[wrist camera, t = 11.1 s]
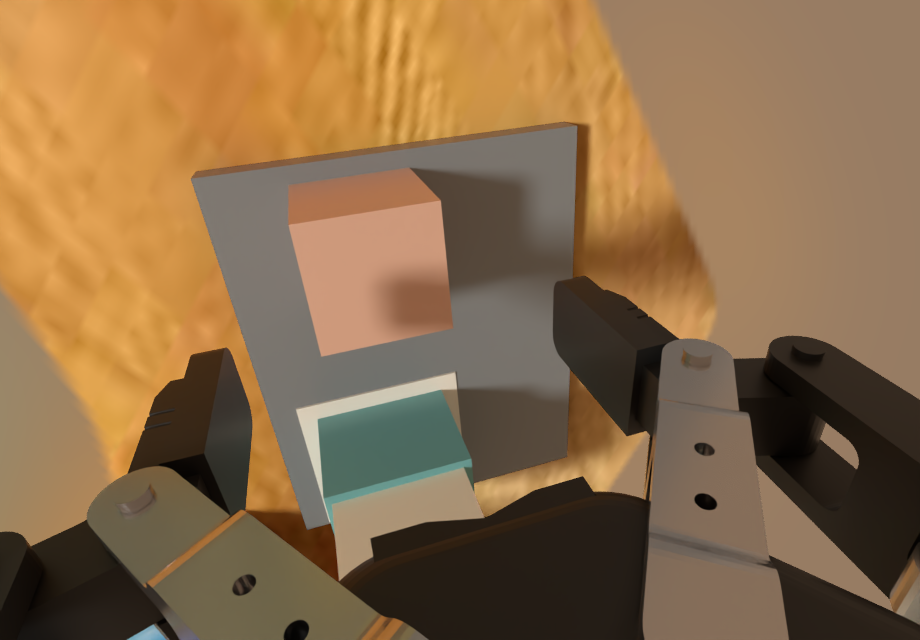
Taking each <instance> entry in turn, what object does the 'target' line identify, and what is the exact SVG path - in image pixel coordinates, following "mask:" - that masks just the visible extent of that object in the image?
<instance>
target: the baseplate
mask: <svg viewBox="0 0 920 640" xmlns="http://www.w3.org/2000/svg"><path fill="white" fill-rule="evenodd" d="M576 153H577V125H573V124H570V123H566V122H560V123H552V124H545V125H537V126H530V127H523V128H515V129H508V130H500V131H493V132H486V133H478V134H471V135H463V136H456V137H449V138H441V139H434V140H426V141H419V142H412V143H404V144H397V145H389V146H382V147H375V148H367V149H360V150H352V151H345V152H338V153H330V154H323V155H315V156H308V157H301V158H293V159H286V160H278V161H271V162H264V163H256V164H249V165H242V166H234V167H227V168H219V169H212V170H205V171H197V172H195V174H194V175H193V176H192V178H191V181H192V184H193V187H194V190H195V193H196V196H197V199H198V202H199V205H200V208H201V211H202V214H203V217H204V220H205V223H206V226H207V229H208V232H209V235H210V238H211V241H212V244H213V247H214V250H215V253H216V256H217V259H218V262H219V265H220V268H221V271H222V274H223V277H224V281H225V284H226V287H227V290H228V293H229V296H230V299H231V302H232V305H233V308H234V311H235V314H236V317H237V320H238V323H239V326H240V329H241V332H242V335H243V338H244V341H245V344H246V347H247V350H248V353H249V356H250V359H251V362H252V365H253V368H254V371H255V374H256V377H257V380H258V383H259V386H260V389H261V392H262V395H263V398H264V401H265V404H266V407H267V410H268V413H269V416H270V420H271V423H272V426H273V429H274V432H275V435H276V438H277V441H278V444H279V447H280V450H281V453H282V456H283V459H284V462H285V465H286V468H287V471H288V474H289V477H290V480H291V483H292V486H293V489H294V492H295V495H296V498H297V501H298V504H299V507H300V510H301V513H302V516H303V519H304V522H305V525H306V528H307V530H309V529H312V528H316V527H320V526H323V525H327V524H330V523H331V522H330V519H329V516H328V512H327V509H326V505H325V502H324V499H323V486H322V472H321V459H320V446H319V433H318V420H317V419H320V418H324V417H328V416H333V415H337V414H341V413H345V412H349V411H354V410H358V409H362V408H366V407H370V406H375V405H379V404H383V403H387V402H391V401H395V400H400V399H404V398H408V397H412V396H416V395H421V394H425V393H429V392H433V391H437V390H442V393H443V395H444V397H445V400H446V402H447V404H448V406H449V409H450V411H451V413H452V416H453V418H454V420H455V422H456V425H457V427H458V429H459V431H460V434H461V436H462V438H463V441H464V443H465V445H466V447H467V450H468V452H469V454H470V457H471V460H472V471H473V482H474V483H476V482H480V481H483V480H487V479H490V478H494V477H497V476H501V475H504V474H508V473H512V472H515V471H519V470H522V469H526V468H529V467H533V466H536V465H540V464H544V463H547V462H551V461H554V460H558V459H561V458H565V457H567V444H568V412H569V380H570V368H569V367H568V366H567V365H566V363H565V362H564V361H563V360H562V359H561V357H560V356H559V355H558V353H557V351H556V348H555V345H554V341H553V291H554V286H555V283H556V282H557V281H561V280H566V279H571V278H573V250H574V218H575V185H576ZM402 168H410V169H411V170H412V171H413V172H414V173H415V174H416V175H417V176H418V177H419V178H420V179H421V180H422V181H423V183H424V184H425V185H426V186H427V187H428V188H429V189H430V190H431V191H432V192H433V193H434V194H435V195H436V196H437V197H438V198H439V199H440V200H441V208H442V218H443V228H444V239H445V249H446V259H447V269H448V279H449V290H450V300H451V310H452V320H453V329H448V330H443V331H439V332H434V333H429V334H425V335H420V336H415V337H411V338H406V339H402V340H397V341H392V342H388V343H383V344H378V345H374V346H369V347H364V348H360V349H355V350H350V351H346V352H341V353H336V354H332V355H327V356H322V357H321V353H320V349H319V345H318V341H317V337H316V333H315V329H314V325H313V321H312V317H311V313H310V309H309V305H308V301H307V297H306V293H305V289H304V285H303V281H302V277H301V273H300V269H299V265H298V261H297V257H296V253H295V249H294V245H293V241H292V237H291V233H290V229H289V225H288V185H292V184H299V183H306V182H313V181H320V180H327V179H334V178H340V177H347V176H354V175H361V174H368V173H375V172H382V171H389V170H396V169H402Z"/></svg>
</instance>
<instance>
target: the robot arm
mask: <svg viewBox="0 0 920 640" xmlns="http://www.w3.org/2000/svg"><path fill="white" fill-rule="evenodd" d="M553 341H554V345H555V348H556V351H557V353H558V355H559V356H560V357H561V359H562V360H563V361H564V362H565V363H566V365H567V366H568V367H569V368H570V369H571V371H572V372H573V373H574V374H575V375H576V376H577V378H578V379H579V380H580V381H581V382H582V384H583V385H584V386H585V387H586V388H587V389H588V391H589V392H590V393H591V394H592V395H593V397H594V398H595V399H596V400H597V401H598V403H599V404H600V405H601V406H602V407H603V408H604V410H605V411H606V412H607V413H608V414H609V416H610V417H611V418H612V419H613V420H614V422H615V423H616V424H617V425H618V426H619V427H620V429H621V430H622V431H623V432H624V433H625V435H626V436H630V435H633V434H637V433H640V432H644V431H647V432H648V433H649V435H650V438H649V445H648V454H647V463H646V473H645V483H644V494H643V499H642V498H639V497H635V496H631V495H627V494H622V493H614V492H593V491H592V489H591V488H590V486H589V485H588V483H587V482H586V480H585V479H584V477H583V476H582V477H579V478H576V479H572V480H569V481H565V482H562V483H558V484H555V485H552V486H548V487H545V488H541V489H538V490H534V491H533V492H531V493H529V494H527V495H526V496H524V497H522V498H520V499H518V500H517V501H515V502H513V503H511V504H510V505H508V506H506V507H504V508H503V509H501V510H499V511H497V512H496V513H494V514H492V515H490V516H488V517H485V518H477V519H463V520H448V521H433V522H424V523H421V524H417V525H414V526H411V527H407V528H404V529H400V530H397V531H393V532H390V533H387V534H383V535H380V536H376V537H373V538H370V540H371V546H372V552H373V557H371V558H370V559H368V560H366V561H364V562H363V563H361V564H360V565H359V566H357V567H356V568H354V569H353V570H351V571H350V572H349V573H348V574H347V575H346V576H344V577H343V578H342V579H341V580H340V581H339V582H337V581H336V580H334V579H333V578H332V577H331V576H329V575H328V574H327V573H325V572H324V571H323V570H322V569H320V568H319V567H318V566H316V565H315V564H314V563H312V562H311V561H310V560H309V559H307V558H306V557H305V556H303V555H302V554H301V553H300V552H298V551H297V550H296V549H294V548H293V547H292V546H290V545H289V544H288V543H287V542H285V541H284V540H283V539H281V538H280V537H279V536H278V535H276V534H275V533H274V532H272V531H271V530H270V529H268V528H267V527H266V526H265V525H263V524H262V523H261V522H259V521H258V520H257V519H256V518H254V517H253V516H252V515H250V514H249V513H247V512H246V511H245V508H246V496H247V485H248V473H249V461H250V450H251V438H252V416H251V410H250V406H249V402H248V399H247V396H246V394H245V391H244V388H243V385H242V382H241V379H240V377H239V374H238V371H237V368H236V365H235V362H234V360H233V357H232V354H231V352H230V351H229V349H228V348H222V349H217V350H212V351H207V352H202V353H197V354H193V355H191V357H190V360H189V363H188V366H187V370H186V373H185V377H184V379H179V380H174V381H170V382H169V383H168V384H167V385H166V386H165V387H164V389H163V390H162V391H161V392H160V393H159V394H158V395H157V396H156V397H155V399H154V402H153V404H152V407H151V410H150V413H149V415H150V417H148V418H147V421H146V424H145V427H144V428H145V430H144V431H143V432H142V435H141V438H140V441H139V443H138V446H137V449H136V452H135V454H134V457H133V460H132V463H131V465H130V468H129V471H128V474H127V475H124V476H122V477H121V478H119V479H117V480H116V481H114V482H113V483H111V484H110V485H108V486H107V487H106V488H105V489H104V490H102V491H101V492H100V493H99V494H98V496H97V497H96V498H95V499H94V501H93V502H92V504H91V506H90V507H89V510H88V513H87V520H85V521H84V522H82V523H80V524H78V525H76V526H74V527H72V528H70V529H68V530H65V531H63V532H61V533H59V534H57V535H54V536H52V537H50V538H48V539H46V540H44V541H42V542H40V543H37V544H35V545H33V546H30V545H29V543H28V542H27V541H26V540H25V538H24V537H23V536H22V535H20V534H18V533H15V532H0V640H127V639H129V638H131V637H133V636H134V635H136V634H138V633H139V632H141V631H143V630H145V629H146V628H148V627H150V626H151V625H153V624H154V626H155V627H156V628H157V629H158V631H159V632H160V633H161V634H162V635H163V637H164V638H165V639H166V640H920V400H919V399H917V398H916V397H914V396H913V395H911V394H910V393H908V392H906V391H905V390H903V389H902V388H900V387H898V386H897V385H895V384H894V383H892V382H890V381H889V380H887V379H885V378H884V377H882V376H881V375H879V374H878V373H876V372H874V371H873V370H871V369H869V368H868V367H866V366H864V365H863V364H861V363H860V362H858V361H857V360H855V359H853V358H852V357H850V356H849V355H847V354H845V353H844V352H842V351H841V350H839V349H837V348H836V347H834V346H832V345H830V344H828V343H826V342H823V341H820V340H817V339H813V338H809V337H802V336H785V337H780V338H777V339H775V340H773V341H772V342H771V343H770V345H769V349H768V352H767V356H766V358H755V359H754V358H749V359H733V358H732V356H731V354H730V353H729V352H728V351H727V350H725V349H724V348H722V347H721V346H719V345H716V344H714V343H711V342H708V341H704V340H699V339H678V338H677V337H676V336H675V335H673V334H672V333H671V332H669V331H668V330H667V329H666V328H664V327H663V326H662V325H660V324H659V323H658V322H657V321H655V320H654V319H653V318H651V317H648V314H646V313H645V312H644V311H643V310H641V309H638V307H637V306H636V305H635V304H634V303H632V302H631V301H630V300H628V299H627V298H626V297H624V296H621V295H619V294H616V293H614V292H611V291H609V290H605V291H604V290H602V289H601V288H600V287H599V286H598V285H596V284H595V283H594V282H593V281H591V280H590V279H589V278H588V277H586V276H581V277H576V278H571V279H566V280H561V281H557V282H556V283H555V286H554V291H553ZM826 423H827V424H829V425H830V426H831V427H832V428H834V429H835V430H836V431H837V432H839V433H840V434H842V435H843V436H844V437H845V438H846V439H848V440H849V441H850V442H851V444H852V445H853V446H854V448H855V450H856V451H857V454H858V457H859V465H858V469H855V468H854V467H853V466H852V465H850V464H849V463H848V462H847V461H846V460H844V459H843V458H842V457H841V456H840V455H838V454H837V453H836V452H835V451H834V450H832V449H831V448H830V447H829V446H827V445H826V444H825V443H824V442H823V441H822V440H820V437H821V435H822V432H823V429H824V427H825V424H826ZM756 465H757V466H758V467H759V468H760V469H761V470H762V471H763V472H764V473H765V474H766V475H767V476H768V477H769V478H770V479H771V480H772V481H773V482H774V483H775V484H776V485H777V486H778V487H779V488H780V489H781V490H782V491H783V492H784V493H785V494H786V495H787V496H788V497H789V498H790V499H791V500H792V501H793V502H794V503H795V504H796V505H797V506H798V507H799V508H800V509H801V510H802V511H803V512H804V513H805V514H806V515H807V516H808V517H809V518H810V519H811V520H812V521H813V522H814V523H815V525H817V526H818V528H820V530H821V531H822V532H824V534H825V535H826V536H827V537H828V538H829V539H831V541H832V542H833V543H835V545H836V546H837V547H838V548H839V549H840V550H841V551H842V552H843V553H844V554H845V555H846V556H847V557H848V558H849V559H850V560H851V561H852V562H853V563H854V564H855V565H856V566H857V567H858V568H859V569H860V570H861V571H862V572H863V573H864V574H865V575H866V576H867V577H868V578H869V579H870V580H871V581H872V582H873V583H874V584H875V585H876V586H877V587H878V588H879V589H880V590H881V591H882V592H883V593H884V594H885V595H886V596H887V597H888V598H889V599H890V602H891V606H892V609H893V611H894V612H893V611H890V610H888V609H886V608H884V607H882V606H879V605H877V604H875V603H873V602H870V601H868V600H866V599H864V598H862V597H860V596H857V595H855V594H853V593H851V592H849V591H846V590H844V589H842V588H840V587H838V586H835V585H833V584H831V583H829V582H826V581H825V580H822V579H820V578H818V577H816V576H813V575H811V574H809V573H807V572H805V571H803V570H800V569H798V568H796V567H794V566H792V565H789V564H787V563H785V562H782V561H780V560H778V559H776V558H774V557H772V556H770V555H769V554H768V548H767V540H766V533H765V525H764V518H763V510H762V503H761V496H760V488H759V481H758V474H757V467H756Z"/></svg>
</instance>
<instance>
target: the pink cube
mask: <svg viewBox="0 0 920 640" xmlns="http://www.w3.org/2000/svg"><path fill="white" fill-rule="evenodd" d="M288 225H289V229H290V233H291V237H292V241H293V245H294V249H295V253H296V257H297V261H298V265H299V269H300V273H301V277H302V281H303V285H304V289H305V293H306V297H307V301H308V305H309V309H310V313H311V317H312V321H313V325H314V329H315V333H316V337H317V341H318V345H319V349H320V353H321V357H322V356H327V355H332V354H336V353H341V352H346V351H350V350H355V349H360V348H364V347H369V346H374V345H378V344H383V343H388V342H392V341H397V340H402V339H406V338H411V337H415V336H420V335H425V334H429V333H434V332H439V331H443V330H448V329H453V320H452V310H451V300H450V290H449V279H448V269H447V259H446V249H445V239H444V228H443V218H442V208H441V200H440V199H439V198H438V197H437V196H436V195H435V194H434V193H433V192H432V191H431V190H430V189H429V188H428V187H427V186H426V185H425V184H424V183H423V181H422V180H421V179H420V178H419V177H418V176H417V175H416V174H415V173H414V172H413V171H412V170H411V169H410V168H402V169H396V170H389V171H382V172H375V173H368V174H361V175H354V176H347V177H340V178H334V179H327V180H320V181H313V182H306V183H299V184H292V185H288Z"/></svg>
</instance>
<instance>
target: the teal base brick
mask: <svg viewBox="0 0 920 640" xmlns="http://www.w3.org/2000/svg"><path fill="white" fill-rule="evenodd" d="M317 420H318V433H319V446H320V459H321V472H322V486H323V499H324V502H325V505H326V509H327V512H328V516H329V519H330V522H331V526H332V529H333V533H334V536H335V531H334V521H333V510H332V504H335V503H338V502H342V501H345V500H349V499H353V498H356V497H360V496H363V495H367V494H370V493H374V492H378V491H381V490H385V489H388V488H392V487H395V486H399V485H403V484H406V483H410V482H413V481H417V480H421V479H424V478H428V477H431V476H435V475H438V474H442V473H446V472H449V471H453V470H456V469H460V468H463V467H464V469H465V472H466V474H467V477H468V479H469V481H470V484H471V486H472V489H473V491H474V482H473V471H472V460H471V457H470V454H469V452H468V450H467V447H466V445H465V443H464V441H463V438H462V436H461V434H460V431H459V429H458V427H457V425H456V422H455V420H454V418H453V416H452V413H451V411H450V409H449V406H448V404H447V402H446V400H445V397H444V395H443V393H442V390H437V391H433V392H429V393H425V394H421V395H416V396H412V397H408V398H404V399H400V400H395V401H391V402H387V403H383V404H379V405H375V406H370V407H366V408H362V409H358V410H354V411H349V412H345V413H341V414H337V415H333V416H328V417H324V418H320V419H317ZM474 494H475V493H474Z"/></svg>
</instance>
